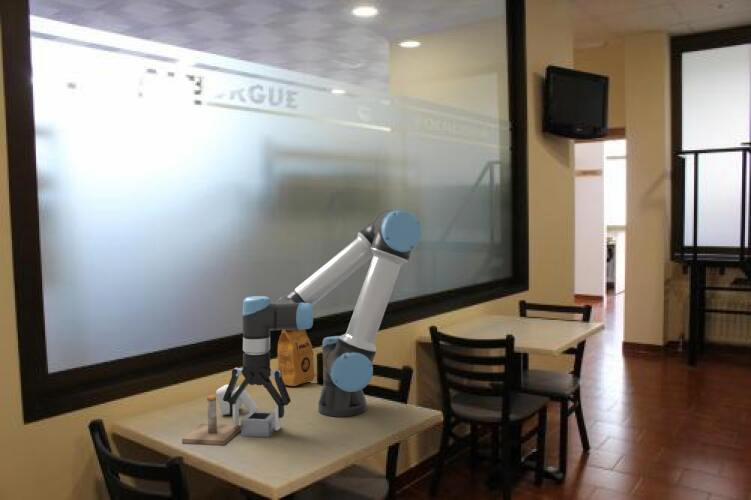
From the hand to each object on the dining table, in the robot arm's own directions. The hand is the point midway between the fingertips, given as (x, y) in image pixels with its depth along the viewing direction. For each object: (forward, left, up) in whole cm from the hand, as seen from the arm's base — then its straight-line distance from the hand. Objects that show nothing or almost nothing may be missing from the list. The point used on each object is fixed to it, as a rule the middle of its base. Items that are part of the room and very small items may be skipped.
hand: (256, 427), depth 175 cm
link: (-1, 0, -1) cm, 2 cm away
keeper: (+11, +5, -1) cm, 12 cm away
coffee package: (+3, -49, -1) cm, 49 cm away
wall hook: (+11, -15, -2) cm, 19 cm away
